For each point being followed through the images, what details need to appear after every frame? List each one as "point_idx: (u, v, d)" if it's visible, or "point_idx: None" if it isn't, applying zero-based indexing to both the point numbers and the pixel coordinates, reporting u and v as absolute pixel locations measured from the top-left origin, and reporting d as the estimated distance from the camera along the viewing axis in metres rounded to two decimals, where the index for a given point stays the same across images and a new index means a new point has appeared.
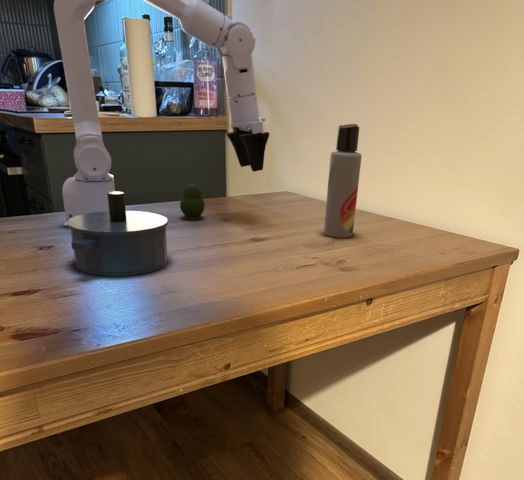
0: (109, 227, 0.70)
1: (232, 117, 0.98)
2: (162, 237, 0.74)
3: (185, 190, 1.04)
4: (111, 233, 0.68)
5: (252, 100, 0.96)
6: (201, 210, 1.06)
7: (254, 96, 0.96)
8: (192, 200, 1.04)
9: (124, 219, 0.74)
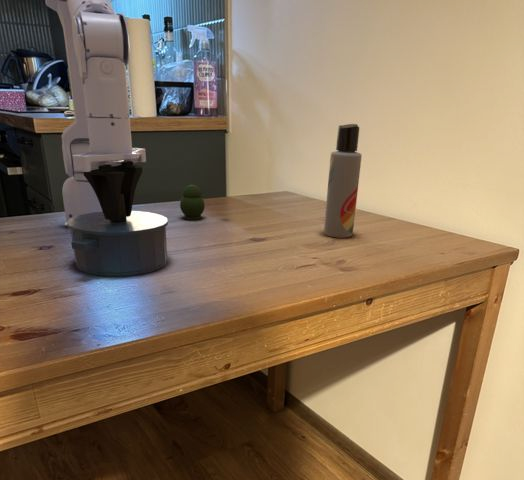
0: (109, 227, 0.70)
1: None
2: (162, 237, 0.74)
3: (185, 190, 1.04)
4: (111, 233, 0.68)
5: (104, 125, 0.66)
6: (201, 210, 1.06)
7: (110, 120, 0.66)
8: (192, 200, 1.04)
9: (124, 219, 0.74)
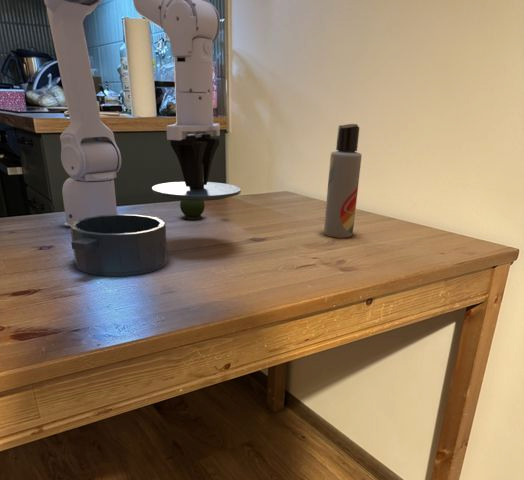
0: (192, 192, 0.78)
1: None
2: (162, 237, 0.74)
3: None
4: (197, 197, 0.76)
5: (193, 99, 0.74)
6: (201, 210, 1.06)
7: (198, 95, 0.74)
8: None
9: (202, 187, 0.82)
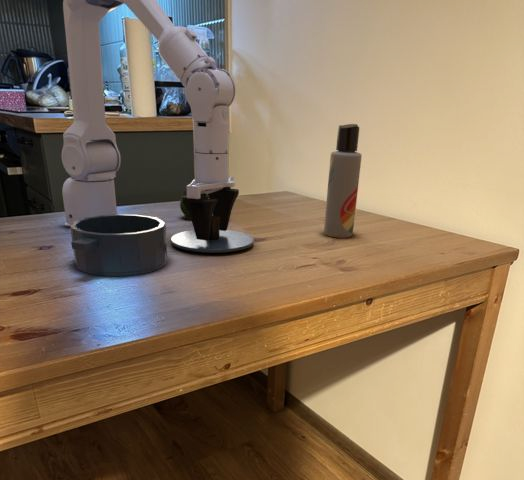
0: (209, 245, 0.84)
1: None
2: (162, 237, 0.74)
3: (185, 190, 1.04)
4: (214, 250, 0.82)
5: (211, 160, 0.80)
6: None
7: (215, 156, 0.80)
8: None
9: (218, 237, 0.88)
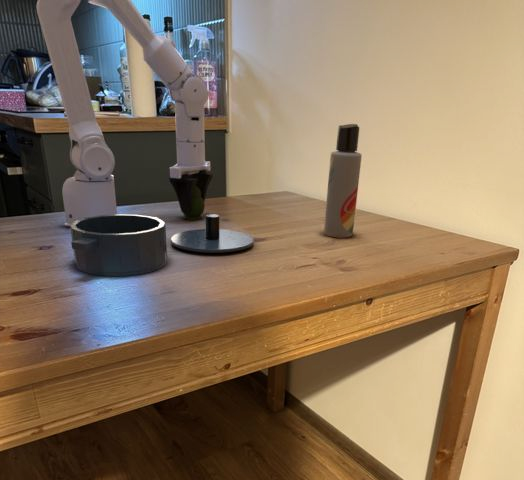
0: (209, 245, 0.84)
1: None
2: (162, 237, 0.74)
3: None
4: (214, 250, 0.82)
5: (189, 147, 0.99)
6: (201, 210, 1.06)
7: (193, 144, 0.99)
8: None
9: (218, 237, 0.88)
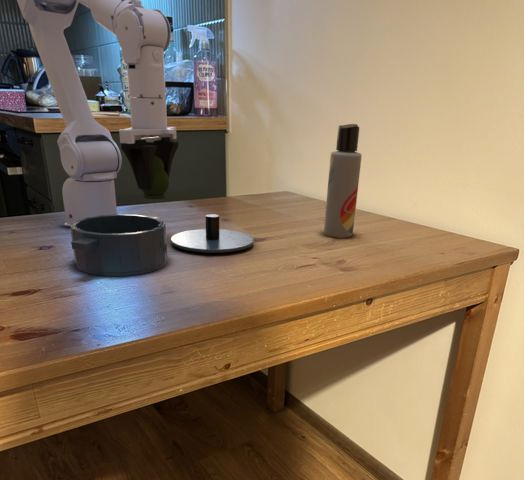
0: (209, 245, 0.84)
1: None
2: (162, 237, 0.74)
3: None
4: (214, 250, 0.82)
5: (145, 104, 0.77)
6: (164, 187, 0.84)
7: (150, 100, 0.77)
8: (152, 173, 0.83)
9: (218, 237, 0.88)
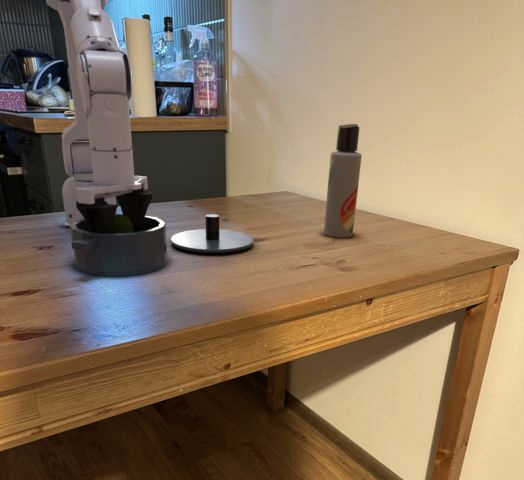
0: (209, 245, 0.84)
1: None
2: (162, 237, 0.74)
3: None
4: (214, 250, 0.82)
5: (108, 158, 0.68)
6: None
7: (113, 154, 0.68)
8: None
9: (218, 237, 0.88)
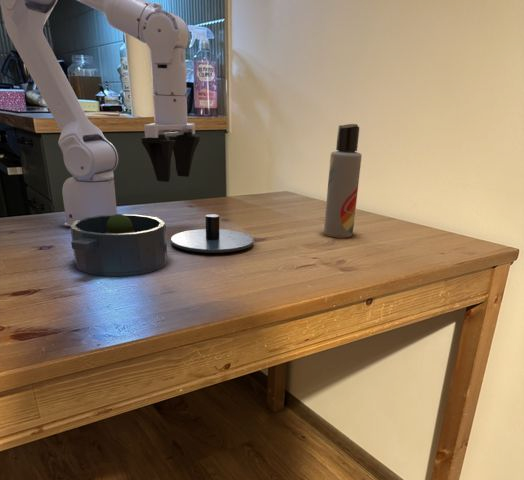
0: (209, 245, 0.84)
1: None
2: (162, 237, 0.74)
3: (109, 222, 0.74)
4: (214, 250, 0.82)
5: (168, 101, 0.83)
6: None
7: (172, 97, 0.83)
8: None
9: (218, 237, 0.88)
